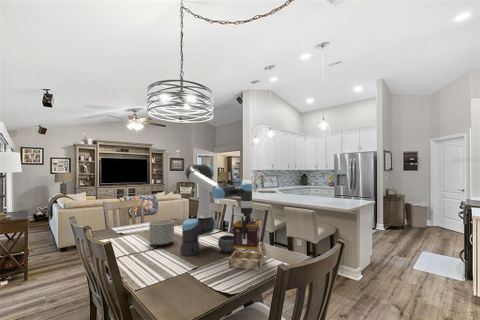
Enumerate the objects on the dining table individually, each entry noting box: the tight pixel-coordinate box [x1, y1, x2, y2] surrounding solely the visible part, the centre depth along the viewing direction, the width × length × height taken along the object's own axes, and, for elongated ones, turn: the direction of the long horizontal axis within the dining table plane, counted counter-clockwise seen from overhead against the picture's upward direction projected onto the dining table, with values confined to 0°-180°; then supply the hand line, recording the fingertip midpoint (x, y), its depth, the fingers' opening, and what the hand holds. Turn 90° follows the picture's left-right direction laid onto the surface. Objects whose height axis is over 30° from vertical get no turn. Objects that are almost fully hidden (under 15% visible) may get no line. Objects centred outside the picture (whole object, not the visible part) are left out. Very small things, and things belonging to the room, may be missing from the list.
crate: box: [228, 250, 265, 271], centre depth 158 cm, size 20×15×5 cm
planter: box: [148, 218, 175, 247], centre depth 198 cm, size 19×19×18 cm
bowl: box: [217, 234, 237, 253], centre depth 182 cm, size 15×15×10 cm
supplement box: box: [233, 219, 260, 250], centre depth 158 cm, size 10×15×16 cm
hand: (246, 241), depth 158 cm, fingers closed on supplement box, 10 cm apart
